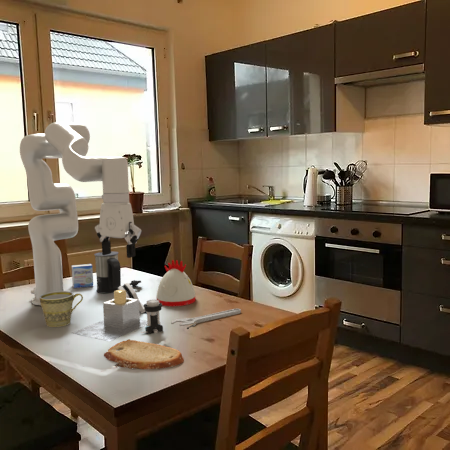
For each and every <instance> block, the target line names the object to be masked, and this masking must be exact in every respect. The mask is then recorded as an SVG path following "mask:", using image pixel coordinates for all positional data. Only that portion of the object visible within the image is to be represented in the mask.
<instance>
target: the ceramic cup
mask: <svg viewBox="0 0 450 450" xmlns="http://www.w3.org/2000/svg"><path fill="white" fill-rule="evenodd" d="M78 296H80V297H81V299H80V301H78V302H77V303H76V304H75V305H74V307H73V303H74V300H75V298H76V297H78ZM39 298H40V303H41V309H42V314H43V317H44V321H45V325H46V326H47V327H50V328H60V327H65V326H67V325H69V324H71V319H72V313H73V312H74V310H75V309H76V308H77V306H79V305H80V304H81V303H82V301H83V300H84V296H83V294H81V293H75V294H74V292H73V291H68V290H64V291H54V292H48V293H45V294H42V295H40V297H39Z"/></svg>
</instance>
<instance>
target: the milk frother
mask: <svg viewBox="0 0 450 450" xmlns="http://www.w3.org/2000/svg"><path fill="white" fill-rule="evenodd" d="M94 257H95V276H96V292H97V293H99V294H100V293H101V294H109V293H114V291H116V290H118V287H120V286H122V285H121V283H122V280H121V279H122V278H121V277H122V275H121V270H122V269H121V263H120V261H119V252H118V251H111V253H110V254H107V255H102V251H101V252H95V253H94ZM140 283H142V280H135V279H134V280H131V281H130V282H129V284H130V285H131V287H132V288H135V287H138V285H139V284H140Z"/></svg>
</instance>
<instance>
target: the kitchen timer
mask: <svg viewBox="0 0 450 450" xmlns="http://www.w3.org/2000/svg"><path fill="white" fill-rule="evenodd" d="M183 264H184V263H183V260H180V263H179V260H178V259H176V260H174V259H172V260H171V262H167V265H168V267H167V265H164V269H165V271H166V273H165V274H164V275H163V276H162V277H161V280H160V281H159V284H158V288H157V290H156V299H155V300H158V301H159V303H162V307H163V306H164V307H181V306H187V305H190V304H194V303H195V302H196V292H195V288H194V286H193V283H192V280H191V279H190V277H189V276H188V274H186V272H185V269H186V266H187V264H186V263H185V264H184V265H183Z"/></svg>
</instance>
